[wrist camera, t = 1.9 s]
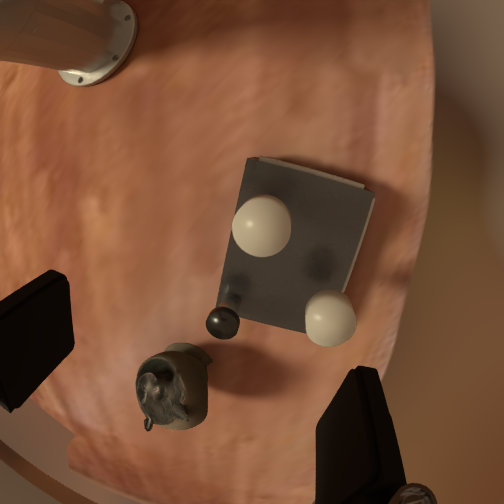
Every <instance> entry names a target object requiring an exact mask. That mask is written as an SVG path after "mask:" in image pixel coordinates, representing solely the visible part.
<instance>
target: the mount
mask: <svg viewBox="0 0 504 504" xmlns="http://www.w3.org/2000/svg"><path fill="white" fill-rule="evenodd" d="M364 186H365V185H364V184H362V183H360V182H357V181H353V180H350V179H347V178H344V177H340V176H337V175H333V174H330V173H326V172H323V171H319V170H316V169H312V168H308V167H305V166H301V165H297V164H293V163H289V162H285V161H281V160H277V159H273V158H269V157H265V156H260V157H259V158H254V157H251V158H247V161H246V165H245V170H244V174H243V179H242V183H241V188H240V192H239V197H238V202H237V206H236V211H235V214H236V213H237V211H238V210H239V209H240V208H241V207H242V206H243V204H244V203H245V202H246V201H247V200H249V199H250V198H252V197H254V196H257V195H271V196H274V197H276V198H278V199H280V200H281V201H282V202H283V203H284V204H285V205H286V206H287V208H288V210H289V212H290V215H291V234H290V238H289V241H288V243H287V244H286V246H285V247H284V248H283V249H282V250H281V251H280V252H278V253H277V254H274V255H272V256H268V257H257V256H253V255H250V254H248V253H246V252H245V251H243V250H242V249H241V248H240V247H239V246H238V244H237V243H236V241H235V239H234V237H233V232H232V230H231V234H230V239H229V244H228V249H227V253H226V258H225V263H224V268H223V273H222V278H221V283H220V288H219V293H218V298H217V303H216V308H217V307H219V305H220V303H221V301H222V298H223V297H224V296H225V295H227V294H234V295H236V296H238V297H239V299H240V301H241V305H240V308H239V311H238V314H237V315H238V316H239V317H241V318H245V319H249V320H253V321H256V322H260V323H264V324H268V325H272V326H276V327H281V328H285V329H289V330H293V331H297V332H302V333H306V334H307V332H306V321H305V308H306V304H307V302H308V301H309V299H310V298H311V297H312V296H313V295H314V294H316V292H317V291H319V290H320V289H322V288H333V289H335V290H338V291H341V292H343V293H344V291H345V289H346V286H347V283H348V281H349V278H350V275H351V272H352V270H353V267H354V264H355V261H356V259H357V256H358V253H359V250H360V247H361V244H362V241H363V238H364V235H365V232H366V229H367V226H368V223H369V219H370V216H371V213H372V210H373V206H374V203H375V200H376V198H374V192H372V191H370V190H369V189H367V188H365V187H364ZM234 217H235V215H234Z"/></svg>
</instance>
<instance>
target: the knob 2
mask: <svg viewBox="0 0 504 504" xmlns="http://www.w3.org/2000/svg"><path fill="white" fill-rule="evenodd" d="M305 321H306V332H307V335H308V337H309V338H310V339H311V340H312V341H313V342H314V343H316V344H318V345H320V346H325V347H333V346H337V345H340V344H342V343H344V342H346V341H347V340H349V339H350V338H351V337H352V335H353V334H354V332H355V330H356V326H357V320H356V316H355V313H354V310H353V307H352V304H351V301H350V299H349V298H348V297H347V295H345V294H344V293H343V292H341V291H338V290H335V289H333V288H322V289H320V290H319V291H317V292H316V294H314V295H313V296H312V297H311V298H310V299H309V301H308V302H307V304H306V308H305Z"/></svg>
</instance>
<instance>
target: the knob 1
mask: <svg viewBox="0 0 504 504" xmlns="http://www.w3.org/2000/svg"><path fill="white" fill-rule="evenodd" d="M232 232H233V237H234V239H235V241H236V243H237V244H238V246H239V247H240V248H241V249H242V250H243V251H245V252H246V253H248V254H250V255H253V256H257V257H268V256H272V255H274V254H277V253H278V252H280V251H281V250H282V249H283V248H284V247H285V246H286V244H287V243H288V241H289V238H290V234H291V215H290V212H289V210H288V208H287V206H286V205H285V204H284V203H283V202H282V201H281V200H280V199H278V198H276V197H274V196H271V195H257V196H254V197H252V198H250V199H249V200H247V201H246V202H245V203H244V204H243V206H242V207H241V208H240V209H239V210H238V211H237V213H236V214H235V217H234V219H233V223H232Z"/></svg>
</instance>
